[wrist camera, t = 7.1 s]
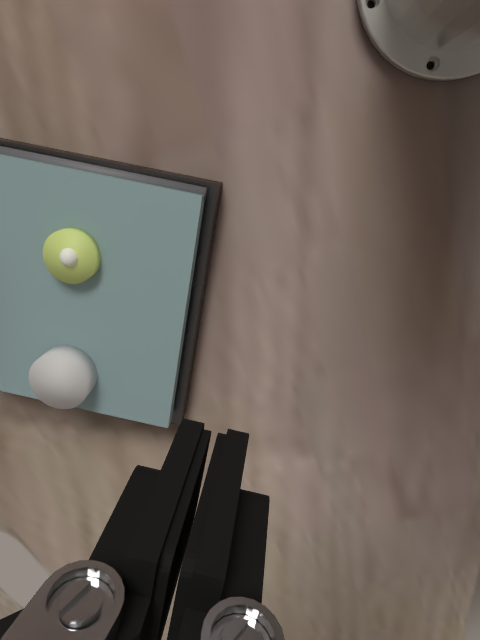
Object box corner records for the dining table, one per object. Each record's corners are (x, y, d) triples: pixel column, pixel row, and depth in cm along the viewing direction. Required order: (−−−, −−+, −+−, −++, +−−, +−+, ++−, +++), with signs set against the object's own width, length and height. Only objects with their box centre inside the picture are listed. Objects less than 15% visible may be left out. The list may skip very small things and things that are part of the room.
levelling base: (-15, 134, 35) (-32, 133, 33) (222, 182, 35) (218, 184, 33) (-10, 369, 43) (-23, 379, 41) (185, 412, 42) (180, 424, 40)
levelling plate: (-26, 139, 33) (-63, 138, 30) (207, 187, 33) (197, 191, 29) (-18, 374, 40) (-47, 395, 37) (172, 417, 40) (161, 442, 36)
